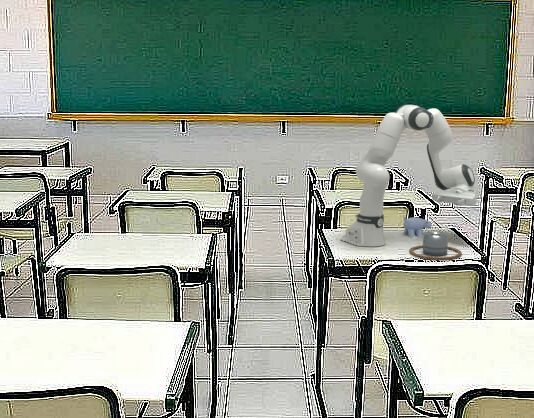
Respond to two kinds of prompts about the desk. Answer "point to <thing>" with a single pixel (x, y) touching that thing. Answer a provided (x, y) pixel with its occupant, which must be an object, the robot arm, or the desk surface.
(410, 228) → the hippopotamus toy
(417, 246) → the locating ring
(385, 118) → the robot arm
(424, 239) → the metal cover
